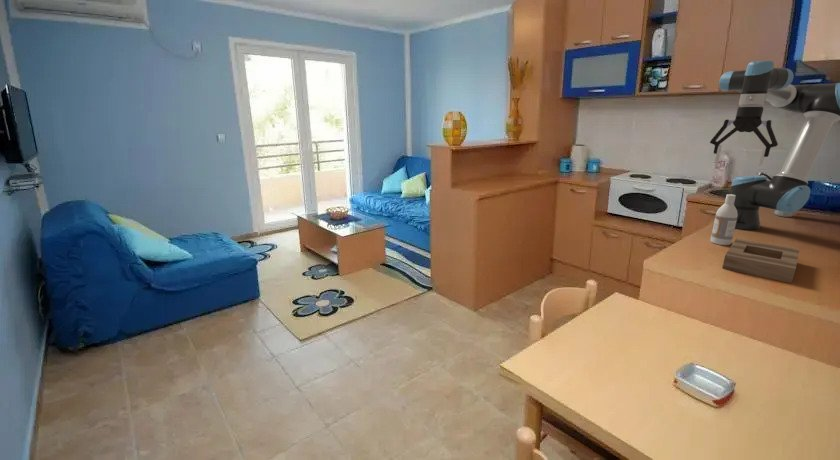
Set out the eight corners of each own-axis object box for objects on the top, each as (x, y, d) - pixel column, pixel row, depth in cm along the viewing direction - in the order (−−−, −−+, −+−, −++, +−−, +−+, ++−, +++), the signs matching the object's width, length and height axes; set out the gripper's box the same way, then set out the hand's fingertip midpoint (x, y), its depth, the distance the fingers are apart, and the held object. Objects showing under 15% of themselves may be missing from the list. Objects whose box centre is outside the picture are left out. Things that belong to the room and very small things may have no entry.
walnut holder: (733, 250, 156) (736, 238, 154) (795, 262, 144) (799, 249, 142) (722, 268, 139) (725, 254, 138) (791, 283, 127) (795, 268, 126)
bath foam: (707, 239, 169) (717, 192, 163) (726, 240, 167) (737, 193, 161) (714, 245, 162) (724, 196, 156) (734, 246, 160) (745, 197, 155)
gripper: (708, 106, 154) (697, 162, 161) (795, 106, 138) (779, 168, 144) (712, 106, 160) (701, 160, 166) (796, 106, 143) (781, 165, 149)
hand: (737, 164), depth 155 cm, fingers open, 13 cm apart
